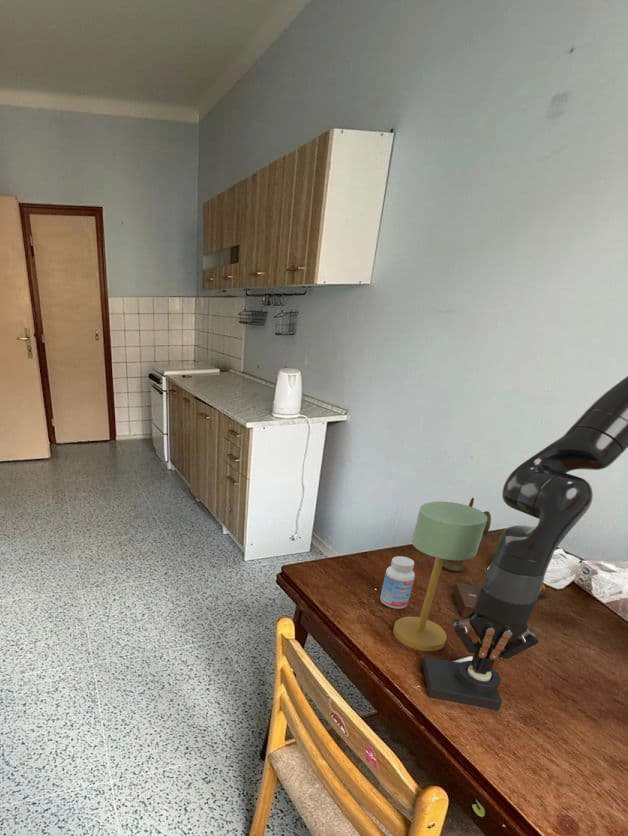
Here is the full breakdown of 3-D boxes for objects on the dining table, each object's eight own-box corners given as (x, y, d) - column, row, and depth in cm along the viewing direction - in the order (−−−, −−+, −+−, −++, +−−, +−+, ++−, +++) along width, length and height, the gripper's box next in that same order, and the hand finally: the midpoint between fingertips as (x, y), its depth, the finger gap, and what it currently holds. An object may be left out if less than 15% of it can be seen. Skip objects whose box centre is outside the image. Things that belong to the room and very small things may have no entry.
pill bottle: (393, 612, 108) (404, 570, 102) (374, 599, 112) (382, 557, 107) (413, 605, 110) (424, 564, 104) (393, 593, 115) (402, 552, 109)
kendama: (475, 576, 120) (498, 504, 111) (433, 571, 123) (453, 500, 114) (470, 565, 125) (492, 495, 116) (430, 560, 128) (449, 491, 119)
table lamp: (442, 625, 103) (479, 504, 90) (452, 657, 94) (494, 528, 80) (388, 617, 106) (416, 499, 93) (392, 647, 97) (424, 521, 83)
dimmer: (509, 600, 111) (514, 589, 109) (523, 625, 102) (527, 614, 101) (453, 593, 114) (456, 582, 112) (461, 616, 106) (465, 605, 104)
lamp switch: (485, 674, 86) (488, 666, 85) (491, 687, 83) (493, 680, 82) (463, 670, 87) (466, 662, 86) (468, 683, 84) (470, 676, 83)
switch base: (487, 676, 89) (493, 660, 87) (500, 711, 81) (507, 694, 80) (422, 665, 92) (426, 649, 90) (428, 697, 85) (434, 681, 83)
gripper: (549, 583, 77) (515, 664, 86) (459, 572, 81) (435, 650, 89) (567, 608, 71) (528, 693, 79) (468, 595, 75) (441, 677, 83)
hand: (479, 670), depth 84 cm, fingers closed
